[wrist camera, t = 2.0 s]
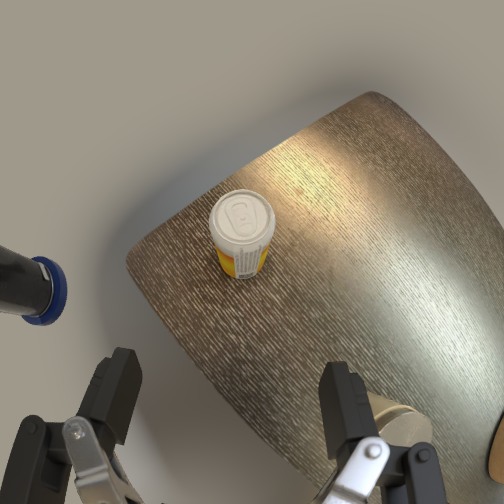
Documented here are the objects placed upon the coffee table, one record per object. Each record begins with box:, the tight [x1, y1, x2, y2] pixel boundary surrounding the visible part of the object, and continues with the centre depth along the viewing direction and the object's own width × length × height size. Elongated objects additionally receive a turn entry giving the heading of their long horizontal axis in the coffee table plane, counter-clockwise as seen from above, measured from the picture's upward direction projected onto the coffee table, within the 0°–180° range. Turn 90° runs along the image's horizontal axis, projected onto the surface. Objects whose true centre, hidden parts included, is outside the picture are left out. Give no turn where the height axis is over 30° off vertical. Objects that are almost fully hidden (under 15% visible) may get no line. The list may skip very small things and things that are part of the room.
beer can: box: [209, 189, 275, 279], centre depth 32 cm, size 6×6×15 cm
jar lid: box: [375, 408, 433, 447], centre depth 23 cm, size 8×8×2 cm
